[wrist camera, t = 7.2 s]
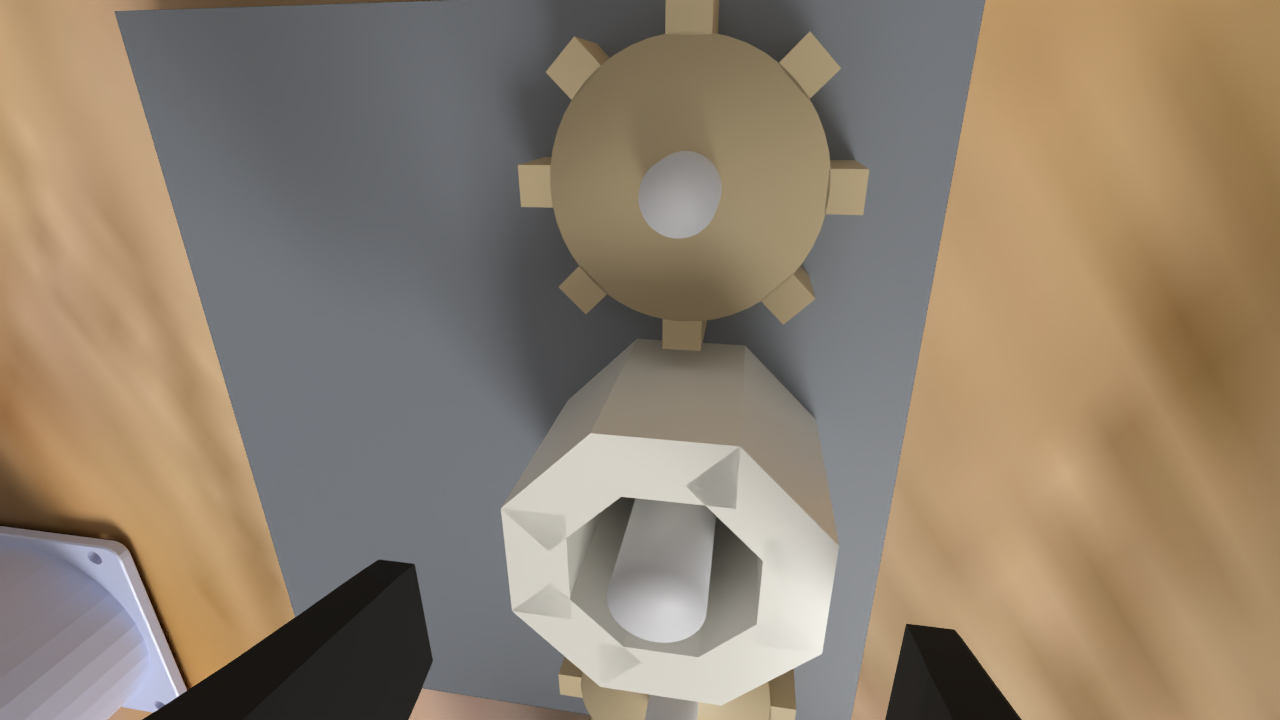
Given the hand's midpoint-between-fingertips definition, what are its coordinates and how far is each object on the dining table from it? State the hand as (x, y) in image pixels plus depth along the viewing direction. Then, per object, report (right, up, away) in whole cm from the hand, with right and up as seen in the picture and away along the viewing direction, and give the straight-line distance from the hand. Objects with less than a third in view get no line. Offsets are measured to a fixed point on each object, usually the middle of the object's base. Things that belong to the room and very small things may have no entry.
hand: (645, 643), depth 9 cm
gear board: (-2, +3, +7) cm, 8 cm away
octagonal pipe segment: (+1, +2, +5) cm, 5 cm away
